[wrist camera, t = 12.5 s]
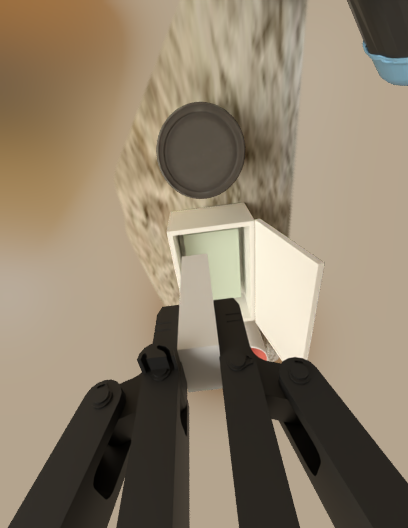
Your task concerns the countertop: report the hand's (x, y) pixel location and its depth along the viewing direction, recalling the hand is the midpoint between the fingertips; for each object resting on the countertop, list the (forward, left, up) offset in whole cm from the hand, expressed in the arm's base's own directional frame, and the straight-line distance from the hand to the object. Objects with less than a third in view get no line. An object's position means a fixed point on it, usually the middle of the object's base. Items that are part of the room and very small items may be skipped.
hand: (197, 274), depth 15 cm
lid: (+9, +19, -16) cm, 27 cm away
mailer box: (+14, +12, -32) cm, 37 cm away
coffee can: (-4, -1, -33) cm, 33 cm away
